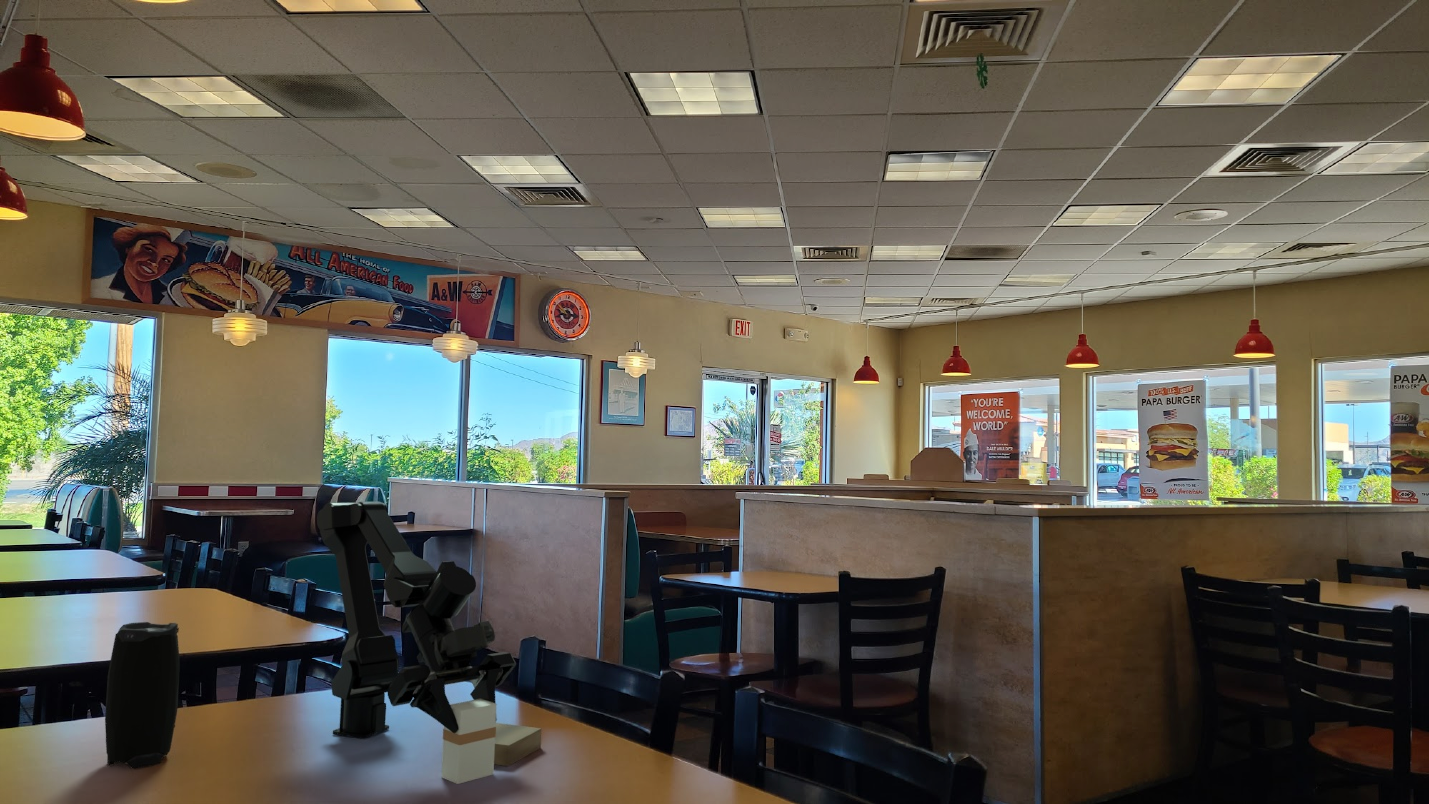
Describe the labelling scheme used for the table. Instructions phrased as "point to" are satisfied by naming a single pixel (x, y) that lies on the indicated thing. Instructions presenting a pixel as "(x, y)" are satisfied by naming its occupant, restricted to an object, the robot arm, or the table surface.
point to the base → (515, 743)
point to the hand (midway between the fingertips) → (475, 727)
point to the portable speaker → (142, 694)
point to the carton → (470, 742)
